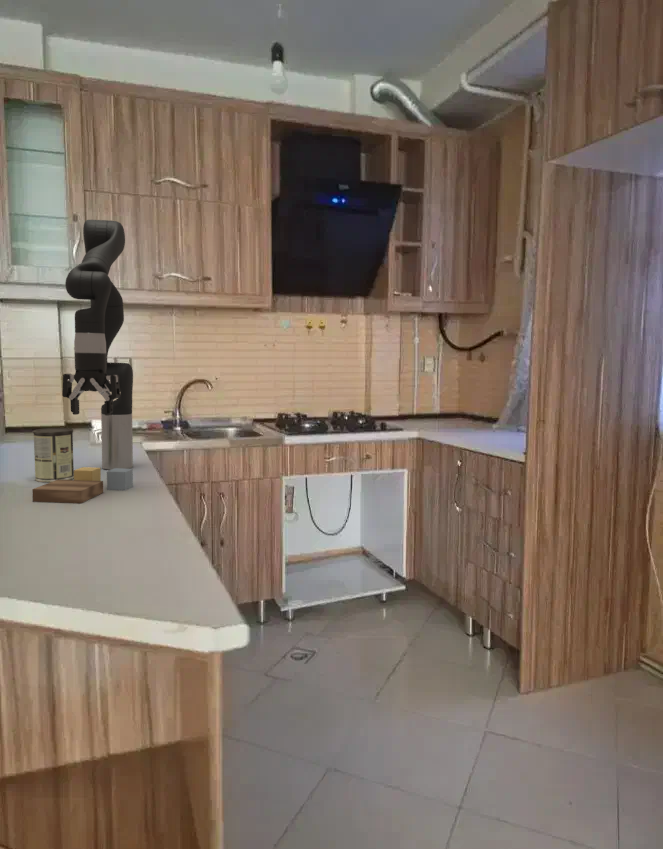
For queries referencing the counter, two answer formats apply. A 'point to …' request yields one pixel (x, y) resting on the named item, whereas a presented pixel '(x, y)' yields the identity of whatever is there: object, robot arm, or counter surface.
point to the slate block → (119, 479)
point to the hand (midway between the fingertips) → (91, 414)
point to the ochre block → (87, 474)
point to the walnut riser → (67, 491)
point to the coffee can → (53, 454)
